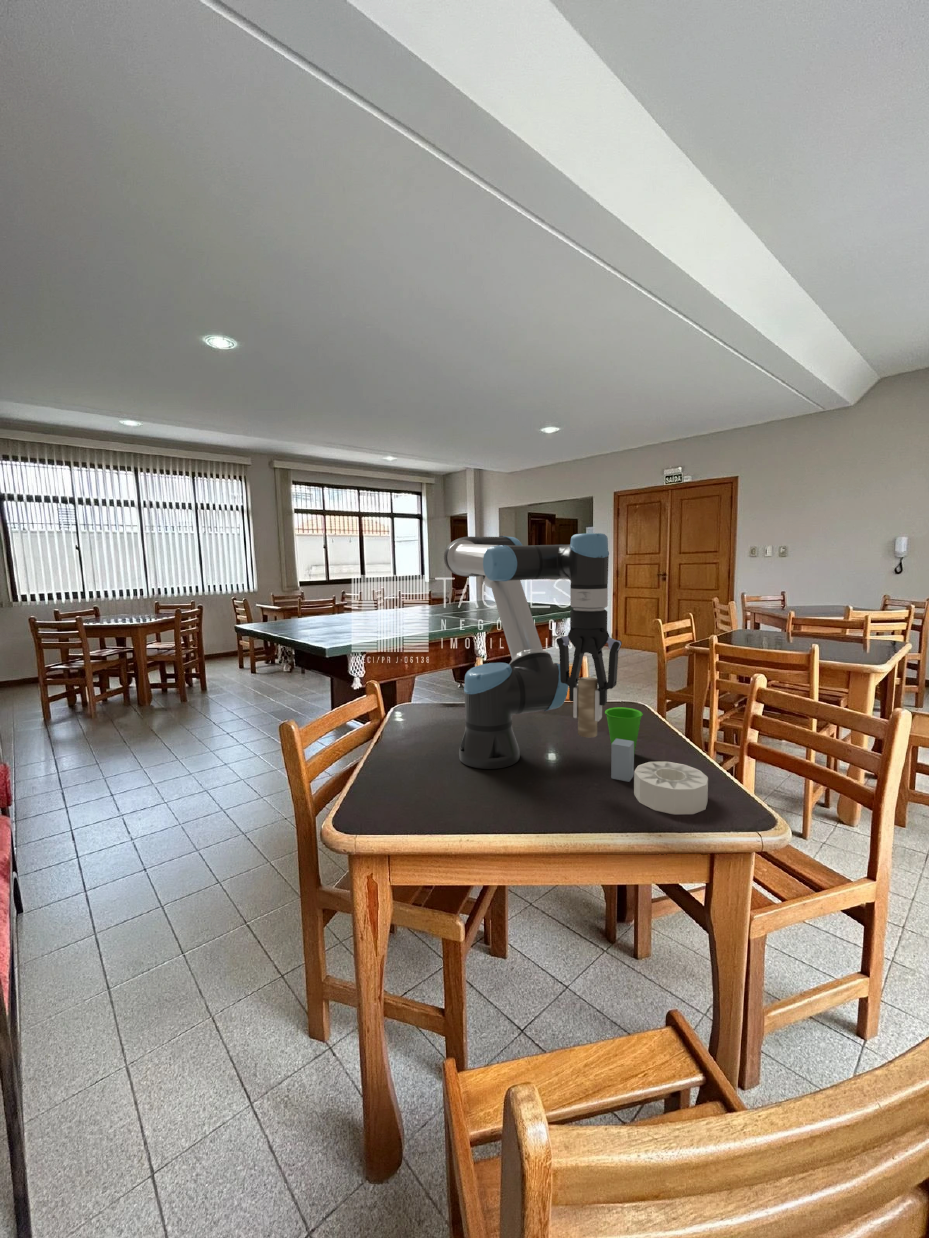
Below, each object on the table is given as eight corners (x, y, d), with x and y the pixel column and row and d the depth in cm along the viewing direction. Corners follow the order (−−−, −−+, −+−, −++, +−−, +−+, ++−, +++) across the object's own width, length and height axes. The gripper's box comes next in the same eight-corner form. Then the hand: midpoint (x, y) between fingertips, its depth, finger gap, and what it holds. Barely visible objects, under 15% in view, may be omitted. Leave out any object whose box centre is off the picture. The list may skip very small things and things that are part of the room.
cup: (644, 763, 121) (645, 718, 120) (605, 760, 123) (606, 717, 121) (639, 749, 129) (640, 707, 128) (603, 747, 131) (603, 706, 130)
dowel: (575, 735, 107) (575, 680, 105) (581, 729, 110) (581, 676, 109) (593, 738, 105) (594, 682, 103) (599, 732, 108) (600, 678, 107)
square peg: (611, 778, 113) (611, 743, 112) (615, 771, 116) (616, 738, 115) (629, 781, 111) (629, 746, 110) (633, 775, 114) (634, 741, 113)
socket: (628, 804, 100) (628, 780, 100) (642, 778, 112) (643, 757, 111) (702, 820, 93) (703, 794, 93) (709, 791, 105) (710, 768, 104)
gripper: (543, 609, 105) (543, 716, 108) (626, 612, 97) (623, 729, 100) (556, 605, 112) (556, 707, 115) (635, 608, 103) (632, 718, 106)
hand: (587, 717), depth 107 cm, fingers closed on dowel, 4 cm apart
